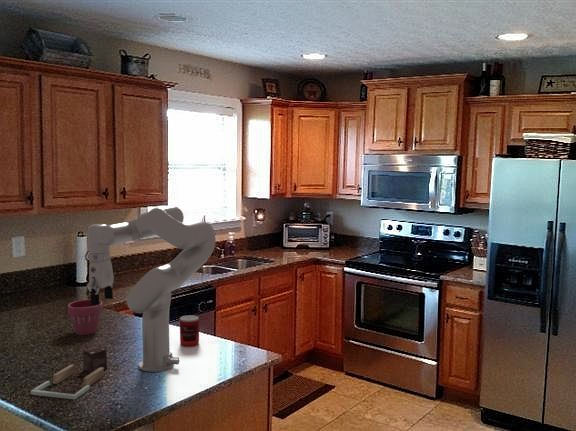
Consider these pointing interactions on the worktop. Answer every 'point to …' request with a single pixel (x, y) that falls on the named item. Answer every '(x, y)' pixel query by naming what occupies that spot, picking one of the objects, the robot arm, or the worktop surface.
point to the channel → (71, 370)
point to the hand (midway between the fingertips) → (102, 301)
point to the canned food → (189, 330)
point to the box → (94, 358)
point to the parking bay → (56, 394)
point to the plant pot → (85, 316)
